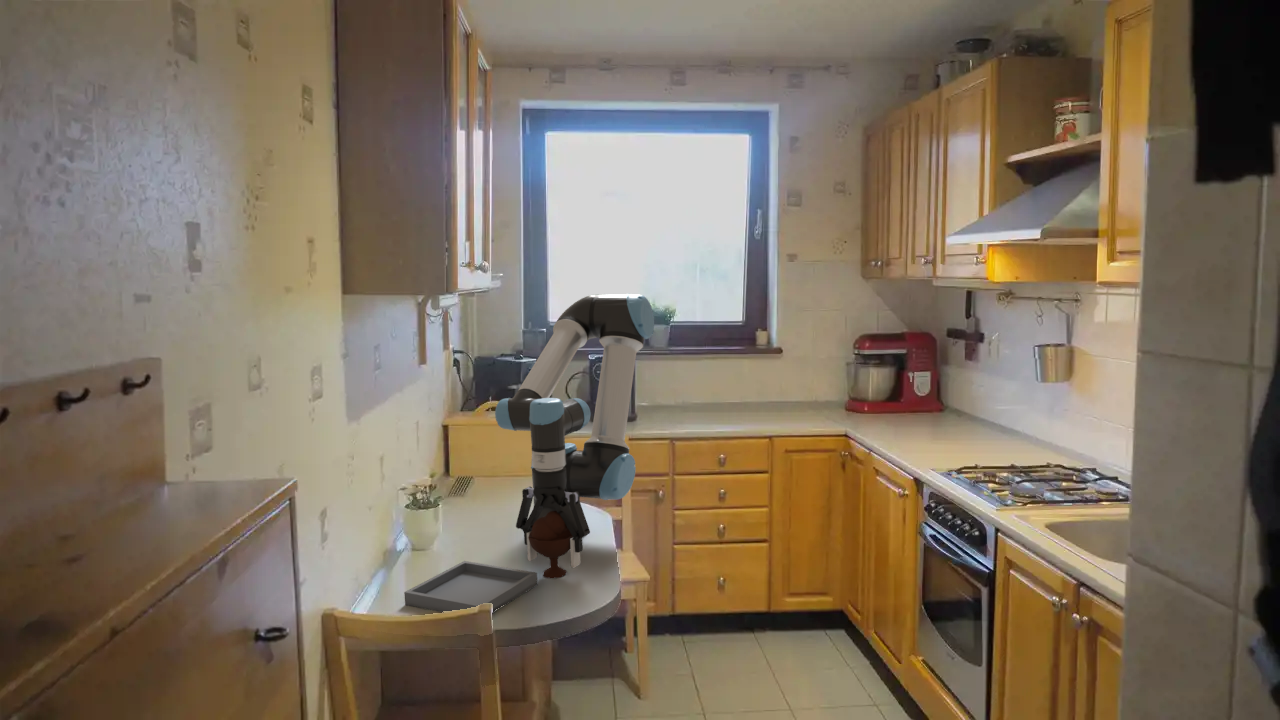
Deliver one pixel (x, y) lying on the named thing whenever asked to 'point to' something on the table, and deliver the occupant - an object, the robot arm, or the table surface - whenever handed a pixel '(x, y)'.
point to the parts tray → (470, 587)
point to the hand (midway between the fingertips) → (554, 562)
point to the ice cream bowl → (551, 541)
